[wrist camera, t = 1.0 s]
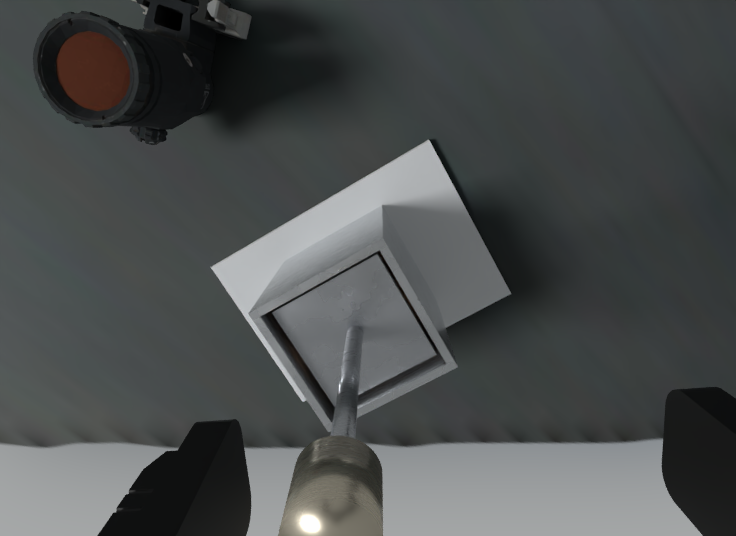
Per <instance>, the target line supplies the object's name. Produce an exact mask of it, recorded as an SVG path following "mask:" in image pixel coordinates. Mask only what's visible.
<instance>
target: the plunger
mask: <svg viewBox="0 0 736 536" xmlns="http://www.w3.org/2000/svg"><path fill="white" fill-rule="evenodd" d="M272 314H273V315H274V317H275V318H276V320H277V321H278V323H279V324H280V326H281V327H282V329H283V330H284V332H285V333H286V335H287V336H288V338H289V339H290V341H291V342H292V344H293V345H294V347H295V348H296V350H297V351H298V353H299V354H300V356H301V357H302V359H303V360H304V362H305V363H306V365H307V366H308V368H309V369H310V371H311V372H312V374H313V375H314V377H315V378H316V380H317V381H318V383H319V384H320V386H321V387H322V389H323V390H324V392H325V393H326V395H327V396H328V398H329V399H330V401H331V402H332V404H333V405H334V407H335V411H334V417H333V424H332V430H331V436H328V437H323V438H320V439H318V440H316V441H314V442H312V443H310V444H309V445H308V446H307V447H306V448H305V449H304V450H303V451H302V452H301V453H300V455H299V457H298V459H297V462H296V465H295V469H294V473H293V477H292V481H291V485H290V489H289V493H288V497H287V501H286V506H285V509H284V514H283V518H282V522H281V526H280V530H279V535H278V536H383V494H382V493H383V492H382V467H381V464H380V461H379V459H378V457H377V455H376V454H375V453H374V451H372V449H371V448H369V447H368V446H367V445H366V444H364V443H363V442H361V441H359V440H357V439H355V432H356V419H357V407H358V395H359V394H361V393H363V392H365V391H367V390H369V389H371V388H373V387H375V386H377V385H379V384H381V383H383V382H384V381H386V380H388V379H390V378H392V377H394V376H396V375H398V374H400V373H402V372H404V371H406V370H408V369H410V368H412V367H414V366H416V365H418V364H420V363H422V362H424V361H426V360H428V359H429V358H431V357H433V356H435V355H437V354H436V350H435V349H434V347H433V345H432V343H431V342H430V340H429V338H428V337H427V335H426V333H425V332H424V330H423V328H422V327H421V325H420V323H419V321H418V320H417V318H416V316H415V315H414V313H413V311H412V310H411V308H410V306H409V304H408V303H407V301H406V299H405V298H404V296H403V294H402V293H401V291H400V289H399V288H398V286H397V284H396V282H395V281H394V279H393V277H392V276H391V274H390V272H389V271H388V269H387V267H386V266H385V264H384V262H383V260H382V259H381V257H380V255H379V254H378V252H376V253H374V254H372V255H370V256H369V257H367V258H365V259H363V260H361V261H360V262H358V263H356V264H354V265H352V266H351V267H349V268H347V269H345V270H343V271H342V272H340V273H338V274H336V275H334V276H333V277H331V278H329V279H327V280H325V281H324V282H322V283H320V284H318V285H316V286H315V287H313V288H311V289H309V290H307V291H306V292H304V293H302V294H300V295H299V296H297V297H295V298H293V299H291V300H290V301H288V302H286V303H284V304H282V305H281V306H279V307H277V308H275V309H274V310H273V312H272Z"/></svg>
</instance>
